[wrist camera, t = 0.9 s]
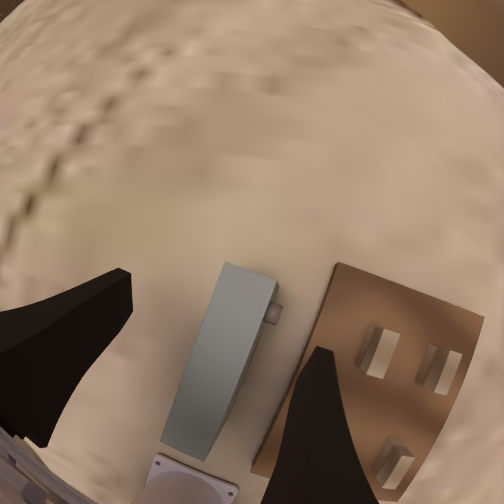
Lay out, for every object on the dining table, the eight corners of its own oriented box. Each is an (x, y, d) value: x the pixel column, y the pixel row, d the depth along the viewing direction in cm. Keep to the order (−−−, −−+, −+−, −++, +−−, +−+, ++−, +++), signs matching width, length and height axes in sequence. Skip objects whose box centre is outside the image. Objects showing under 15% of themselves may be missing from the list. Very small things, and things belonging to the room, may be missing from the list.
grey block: (234, 425, 22) (216, 466, 15) (191, 407, 22) (159, 441, 16) (289, 289, 23) (290, 285, 16) (242, 272, 24) (225, 261, 17)
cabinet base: (393, 493, 19) (408, 522, 14) (252, 463, 21) (244, 495, 16) (475, 316, 21) (509, 318, 16) (335, 264, 23) (348, 254, 18)
